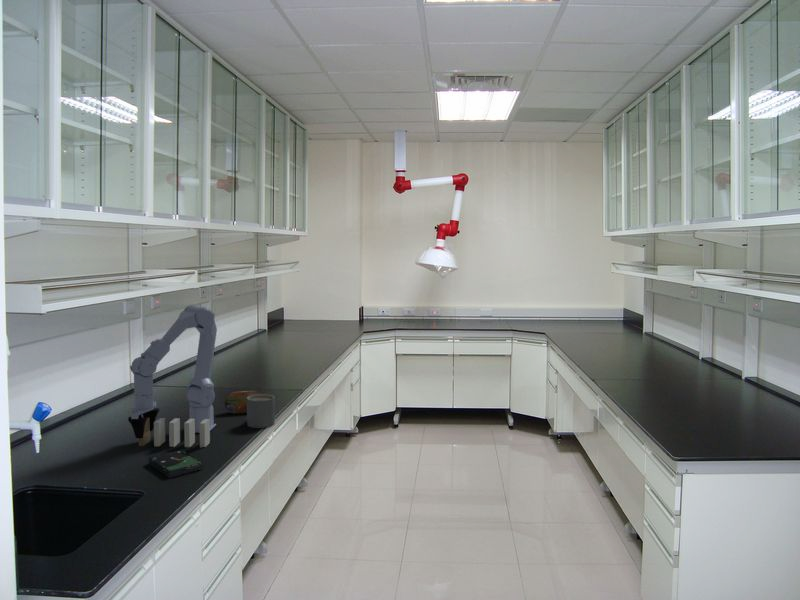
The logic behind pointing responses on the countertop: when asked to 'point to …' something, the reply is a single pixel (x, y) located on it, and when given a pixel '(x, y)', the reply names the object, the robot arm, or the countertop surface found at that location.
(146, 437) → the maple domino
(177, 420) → the domino
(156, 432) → the domino
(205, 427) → the domino
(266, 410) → the coffee mug
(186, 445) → the domino
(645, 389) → the countertop surface
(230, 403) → the tin
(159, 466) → the disk drive
